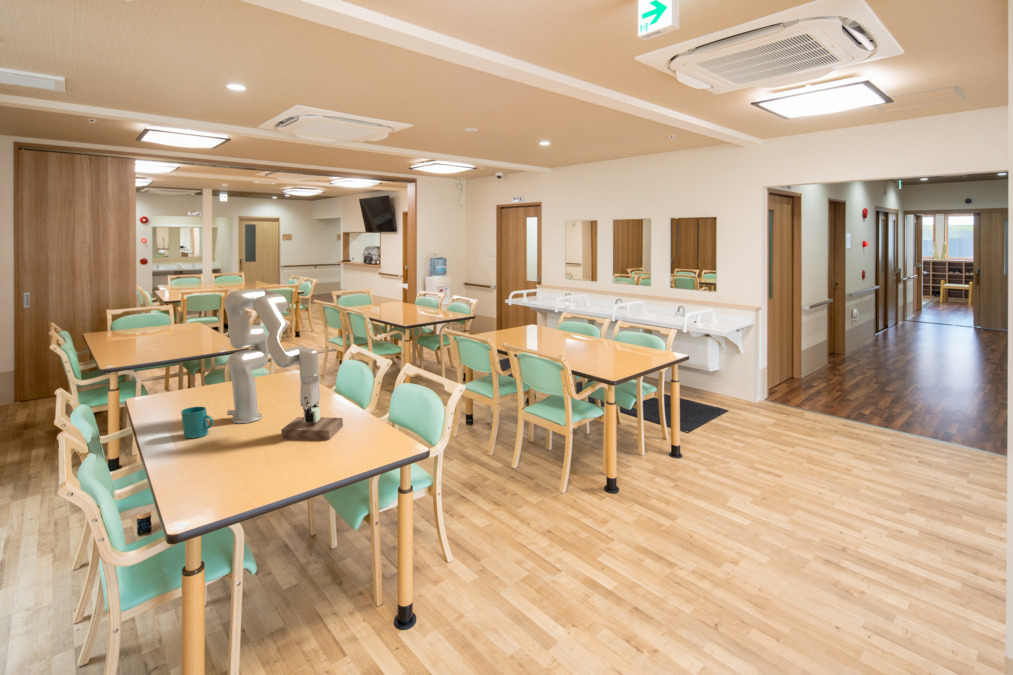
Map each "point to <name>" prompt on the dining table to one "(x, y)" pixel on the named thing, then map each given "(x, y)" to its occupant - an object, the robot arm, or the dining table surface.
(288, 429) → the walnut plinth
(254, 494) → the dining table surface
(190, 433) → the cup
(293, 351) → the robot arm
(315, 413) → the sage cube
